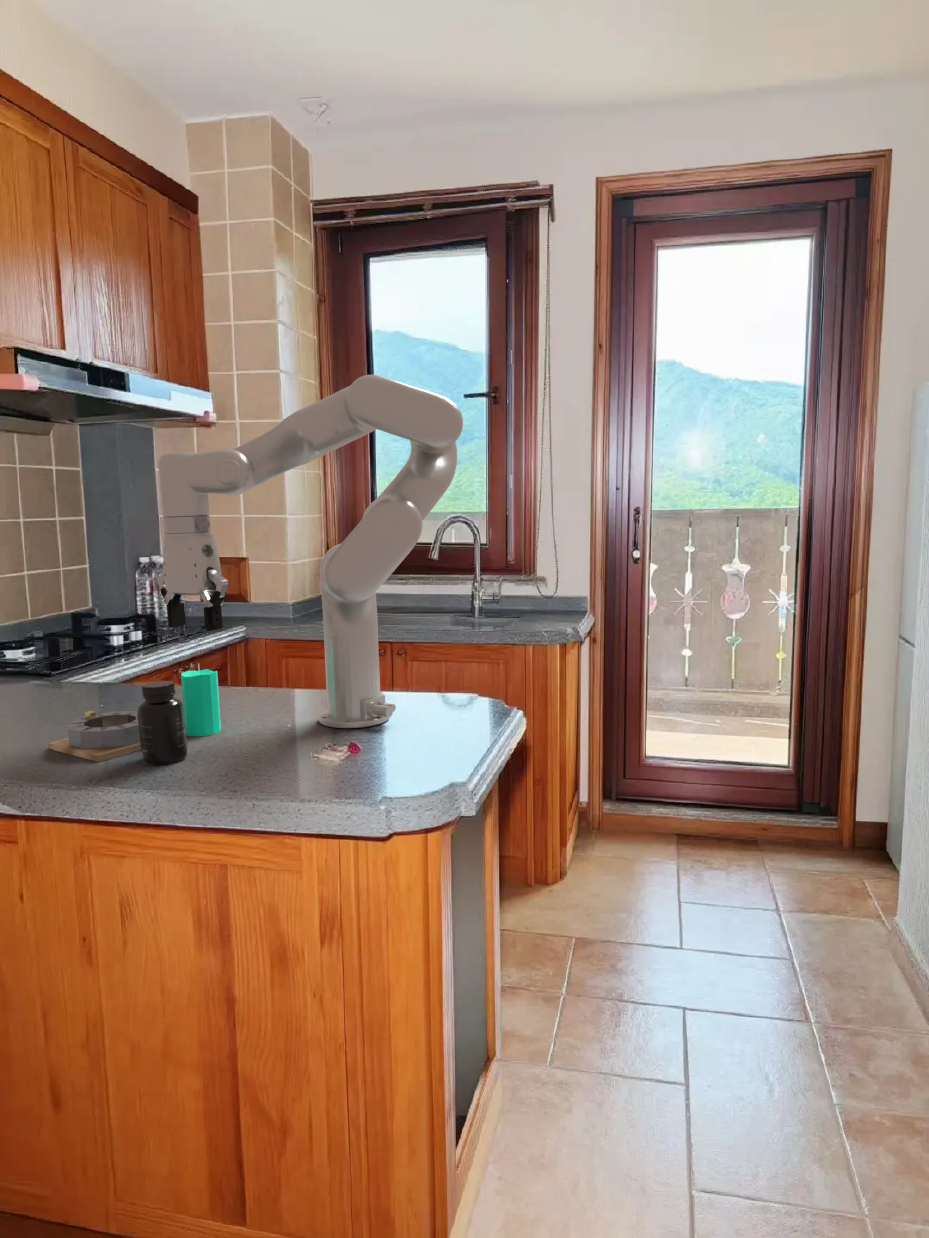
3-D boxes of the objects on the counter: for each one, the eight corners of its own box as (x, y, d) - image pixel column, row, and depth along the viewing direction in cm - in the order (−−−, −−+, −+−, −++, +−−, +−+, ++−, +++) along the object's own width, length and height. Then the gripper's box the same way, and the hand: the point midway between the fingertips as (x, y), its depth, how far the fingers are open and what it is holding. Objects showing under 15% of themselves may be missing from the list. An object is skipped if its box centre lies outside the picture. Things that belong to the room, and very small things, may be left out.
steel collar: (168, 734, 147) (167, 712, 146) (99, 754, 136) (97, 730, 136) (122, 724, 154) (121, 703, 154) (53, 742, 144) (51, 719, 143)
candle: (223, 733, 150) (218, 665, 149) (186, 738, 148) (181, 668, 146) (219, 725, 156) (214, 659, 154) (183, 729, 154) (179, 662, 152)
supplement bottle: (171, 750, 141) (166, 677, 139) (196, 757, 137) (191, 682, 135) (132, 760, 136) (126, 685, 134) (156, 768, 132) (150, 690, 130)
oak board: (174, 739, 147) (173, 734, 147) (98, 761, 136) (98, 755, 136) (124, 728, 155) (123, 723, 155) (48, 748, 144) (48, 742, 144)
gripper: (239, 525, 145) (246, 627, 147) (173, 526, 155) (181, 622, 157) (202, 528, 139) (210, 634, 141) (136, 528, 149) (145, 628, 151)
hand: (195, 627), depth 149 cm, fingers open, 9 cm apart
